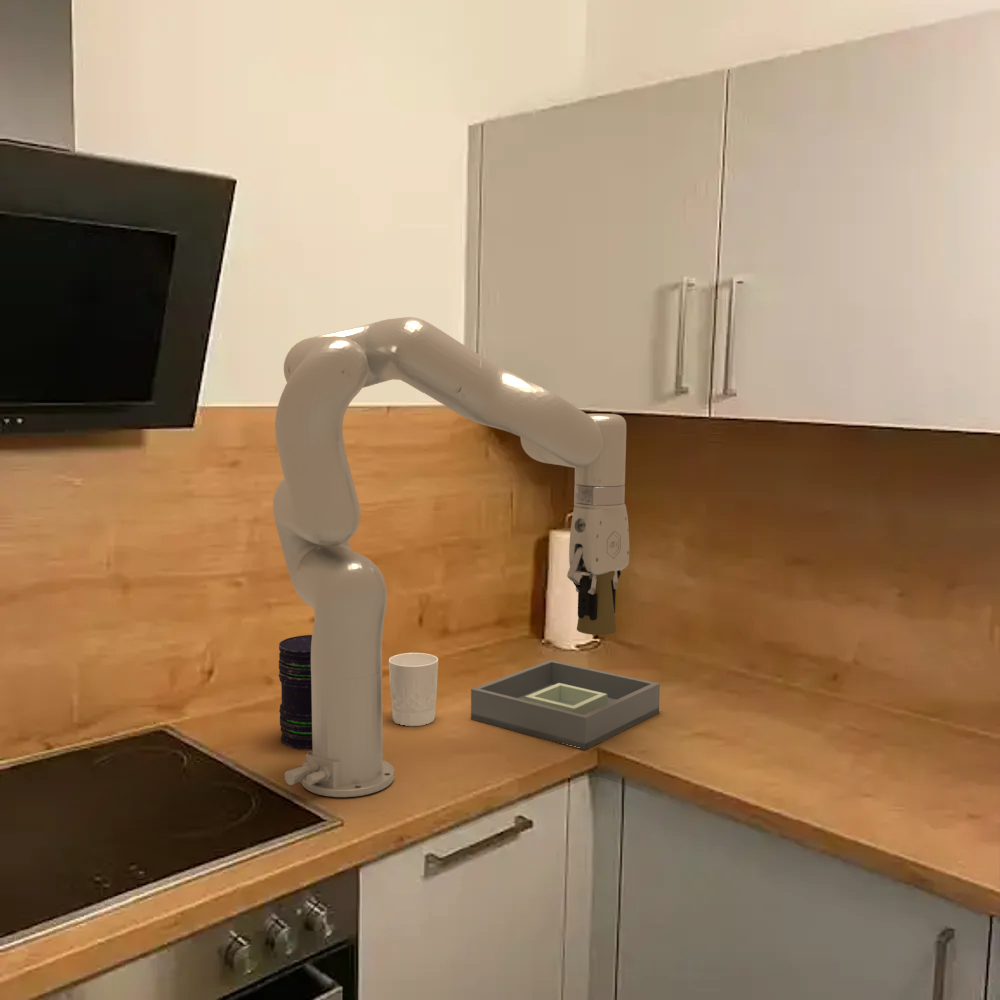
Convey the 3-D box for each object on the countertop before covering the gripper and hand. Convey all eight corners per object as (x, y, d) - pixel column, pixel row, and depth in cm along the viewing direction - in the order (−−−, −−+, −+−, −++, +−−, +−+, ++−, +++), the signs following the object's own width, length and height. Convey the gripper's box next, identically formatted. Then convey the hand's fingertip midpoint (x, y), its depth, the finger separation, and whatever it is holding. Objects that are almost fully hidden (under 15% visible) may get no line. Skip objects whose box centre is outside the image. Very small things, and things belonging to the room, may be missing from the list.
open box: (585, 750, 155) (585, 717, 154) (471, 719, 168) (471, 689, 167) (659, 713, 172) (659, 683, 171) (550, 687, 185) (550, 659, 185)
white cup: (444, 724, 166) (444, 663, 164) (396, 730, 163) (396, 668, 161) (429, 709, 173) (429, 650, 172) (383, 715, 170) (383, 655, 169)
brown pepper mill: (613, 636, 155) (615, 563, 154) (573, 633, 156) (575, 561, 155) (618, 626, 161) (620, 556, 160) (579, 623, 162) (581, 554, 161)
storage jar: (286, 753, 152) (284, 654, 151) (274, 732, 162) (272, 637, 160) (353, 745, 156) (352, 647, 154) (337, 724, 165) (336, 632, 163)
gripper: (587, 503, 147) (584, 630, 150) (650, 494, 160) (647, 610, 162) (545, 499, 152) (543, 621, 154) (609, 490, 165) (606, 603, 167)
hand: (596, 614), depth 158 cm, fingers closed on brown pepper mill, 4 cm apart
